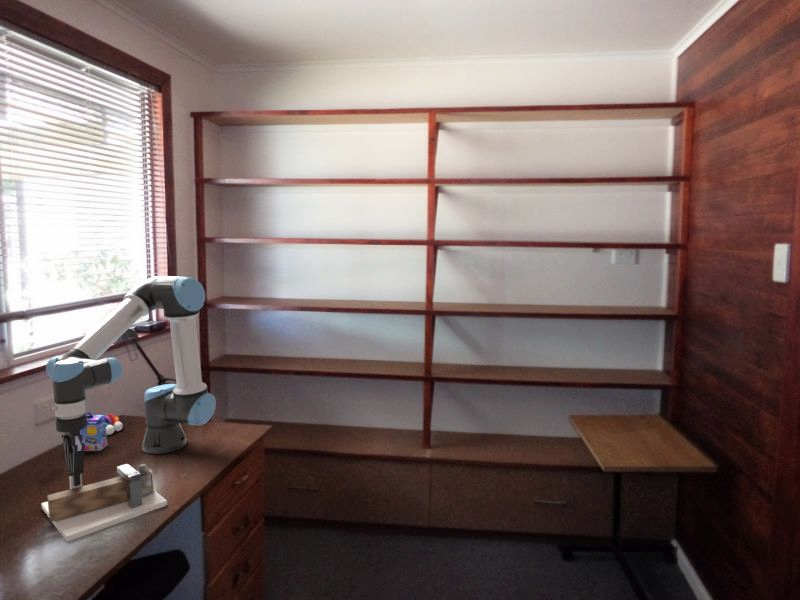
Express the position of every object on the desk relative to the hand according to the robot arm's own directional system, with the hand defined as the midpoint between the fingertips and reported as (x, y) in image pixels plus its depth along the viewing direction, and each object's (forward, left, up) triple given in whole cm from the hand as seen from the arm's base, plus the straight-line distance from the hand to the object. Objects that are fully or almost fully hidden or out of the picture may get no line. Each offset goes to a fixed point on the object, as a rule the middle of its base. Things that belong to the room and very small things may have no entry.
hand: (76, 494), depth 153 cm
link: (-6, +4, -4) cm, 8 cm away
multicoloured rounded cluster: (-28, -62, -6) cm, 69 cm away
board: (-6, +2, -6) cm, 9 cm away
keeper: (-12, +7, -6) cm, 15 cm away
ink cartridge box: (-17, -49, -6) cm, 52 cm away
